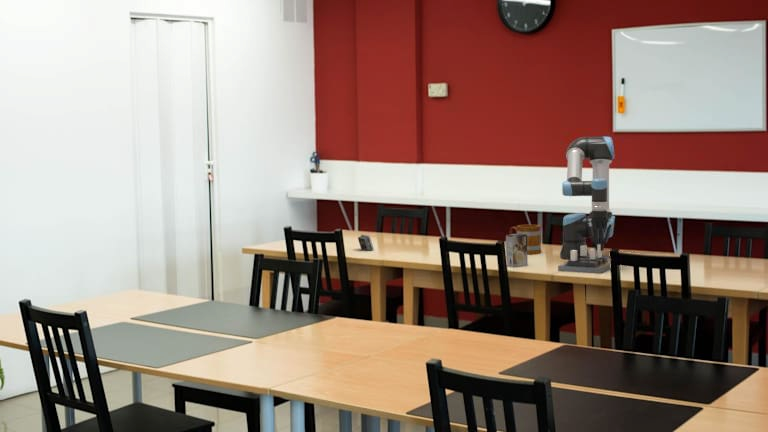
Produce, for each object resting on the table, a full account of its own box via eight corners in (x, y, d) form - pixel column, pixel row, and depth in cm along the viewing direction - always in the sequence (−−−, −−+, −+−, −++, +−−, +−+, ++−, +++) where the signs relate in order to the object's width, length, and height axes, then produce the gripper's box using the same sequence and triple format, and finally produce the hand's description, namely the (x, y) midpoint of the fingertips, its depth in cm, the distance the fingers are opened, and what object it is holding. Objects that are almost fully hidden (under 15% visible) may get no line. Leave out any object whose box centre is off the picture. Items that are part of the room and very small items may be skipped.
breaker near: (572, 259, 508) (572, 249, 507) (577, 260, 507) (577, 250, 506) (570, 260, 505) (570, 250, 504) (575, 261, 504) (575, 251, 503)
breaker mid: (591, 258, 511) (591, 248, 511) (596, 258, 510) (596, 248, 509) (589, 259, 509) (589, 249, 508) (594, 259, 507) (594, 249, 507)
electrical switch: (374, 250, 588) (372, 235, 586) (366, 252, 585) (364, 236, 583) (366, 248, 596) (364, 233, 594) (358, 250, 593) (356, 235, 592)
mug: (546, 252, 563) (546, 225, 562) (531, 255, 554) (531, 228, 552) (517, 249, 577) (517, 223, 576) (502, 252, 568) (502, 225, 566)
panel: (574, 262, 528) (574, 254, 527) (616, 264, 517) (616, 256, 517) (558, 271, 505) (558, 262, 504) (601, 273, 495) (601, 264, 494)
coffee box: (520, 263, 530) (520, 232, 528) (527, 265, 524) (527, 234, 522) (505, 265, 525) (505, 234, 523) (513, 267, 520) (512, 235, 518)
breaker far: (582, 255, 522) (582, 245, 521) (586, 255, 520) (586, 245, 520) (580, 255, 519) (580, 246, 518) (585, 256, 518) (585, 246, 517)
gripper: (584, 210, 505) (584, 257, 508) (610, 211, 499) (610, 258, 502) (588, 208, 511) (588, 255, 514) (614, 209, 505) (614, 256, 508)
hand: (599, 257), depth 508 cm, fingers closed
